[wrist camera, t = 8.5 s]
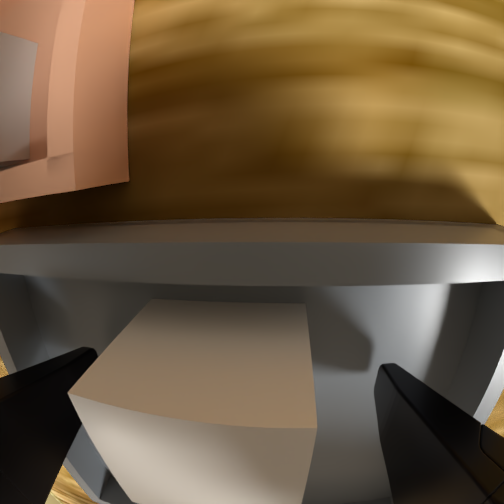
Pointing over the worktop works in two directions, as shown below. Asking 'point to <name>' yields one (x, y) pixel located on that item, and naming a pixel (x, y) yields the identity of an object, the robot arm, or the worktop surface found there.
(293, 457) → the beige cube
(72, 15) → the dish
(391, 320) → the bin
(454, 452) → the robot arm
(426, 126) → the worktop surface
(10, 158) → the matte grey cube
